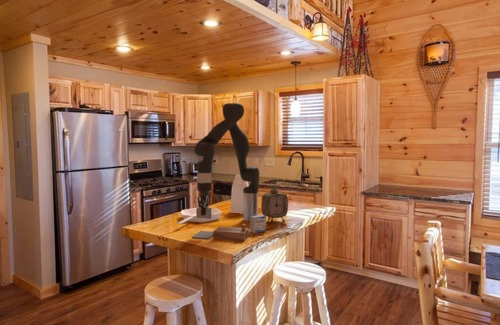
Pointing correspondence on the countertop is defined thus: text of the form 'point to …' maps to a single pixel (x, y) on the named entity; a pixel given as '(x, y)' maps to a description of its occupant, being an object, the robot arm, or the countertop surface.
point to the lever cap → (207, 213)
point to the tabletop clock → (274, 204)
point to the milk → (238, 194)
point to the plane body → (231, 233)
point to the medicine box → (257, 223)
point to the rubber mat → (203, 235)
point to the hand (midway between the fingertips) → (204, 214)
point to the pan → (191, 217)
